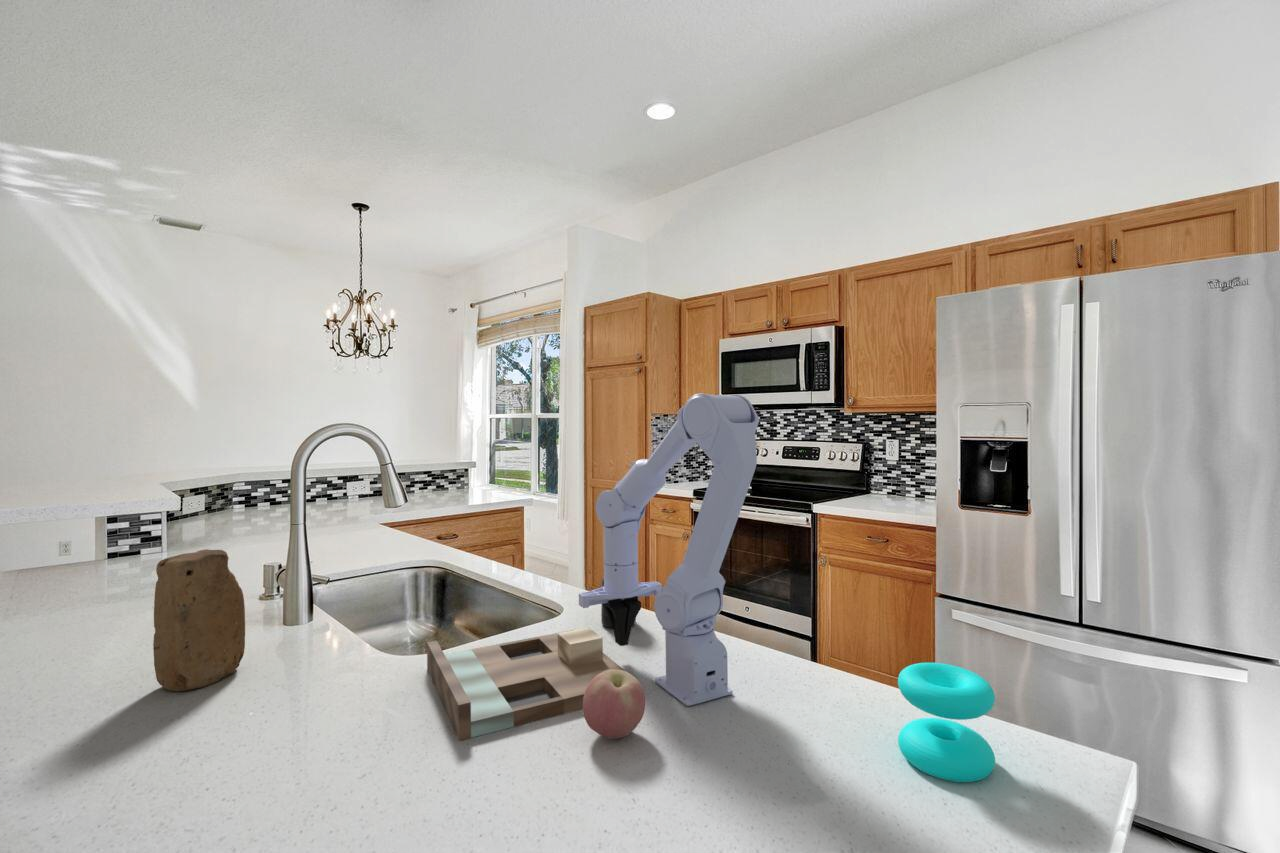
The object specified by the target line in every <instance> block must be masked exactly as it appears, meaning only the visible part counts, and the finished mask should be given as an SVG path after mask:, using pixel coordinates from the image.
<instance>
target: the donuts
mask: <svg viewBox="0 0 1280 853" xmlns="http://www.w3.org/2000/svg"><path fill="white" fill-rule="evenodd" d="M897 677H898V678H897V686H898V689H899V691H900V693H901V695H902V696H903V698H904V699H905V700H906V701H908V703H910V704H911V705H912V706H914V707H915V708H917V709H919V710H921V711H922V712H924V713H927V714H929V715H933V716H934V717H924V718H917V719H914V720H911V721H910V722H907V723H906V724H904V725H903V727H902V728H901V729H900V731H899V734H898V737H897V739H898V740H897V742H898V743H897V744H898V747H899V750H900V752H901V753H902V755H903V757H904V758H905V759H906V760H907V761H908V762H909V763H910V764H911V765H912V766H914V767H915V768H916V769H918V770H920V771H922V772H923V773H925V774H927V775H930V776H932V777H935V778H938V779H941V780H945V781H949V782H958V783H971V782H978V781H980V780H983V779H985V778H987V777H988V776H990V774H991V773H992V772H993V771H994V768H995V766H996V757H995V753H994V751H993V748H992V746H991V745H990V744H989V742H988V741H987V740H986V739H985V738H984V737H983V736H982V735H981V734H980V733H978V732H977V731H975V730H974V729H972V728H970V727H968V726H967V725H964V724H961V723H959V722H956V721H957V720H959V721H961V720H962V721H963V720H965V721H966V720H973V719H978V718H981V717H982V716H985V715H986V714H988V713H989V712H991V710H992V709H993V707H994V706H995V705H994V704H995V702H996V696H995V692H994V689H993V688H992V686H991V684H989V682H988V681H987V680H986V679H985V678H984V677H982V676H980V675H979V674H977V673H975V672H973V671H971V670H969V669H967V668H964V667H960V666H957V665H952V664H948V663H942V662H919V663H914V664H913V663H912V664H911V665H908V666H906V667H904V668H903V669H901V671H900V672H899V674H898V676H897ZM936 717H939V718H936ZM953 720H955V721H953Z"/></svg>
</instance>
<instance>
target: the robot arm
mask: <svg viewBox="0 0 1280 853" xmlns="http://www.w3.org/2000/svg"><path fill="white" fill-rule="evenodd" d="M754 408H755V407H754V406H753V404H752V403H751V402H750V400H749V399H748V398H747V397H745V396H743V395H741V394H731V395H729V394H728V395H727V394H725V395H723V394H708V393H704V392H703V393H701V392H700V393H696V394H693V395H691V396H690V397H689V399H687V401H686V402H685V405H683V406H682V407H680V408H679V410H677V414H676V415H677V417H676V418H677V419H676V421H675V423H674V424H672V426H671V427H670V429H669V430H668V432H666V434H665V435H664V438H662V440H661V442H660V443H659V444H658V445H657V447H656V448H655V449H654V451H653V452H652V453H651V455H650V456H649V458H641V459H638V460H633V461H632V462H631V464H630V465H629V467H630V469H629V470H628V471H627V472H626V474H625V475H624V476H623V477H622V478H621V479H620V480H618V481H617V482H616V483H615V487H614V488H612V489H611V490H610V489H609V490H608V489H607V490H603V491H601V492H600V493H599V495H598V497H597V498H596V499H597V500H596V502H595V513H596V518H597V519H598V522H599V523H601V525H602V526H603V527H602V528H603V532H602V533H603V578H604V587H599V588H595V589H592V590H589V591H584V592H580V593H579V592H578V606H580V607H581V608H583V609H586V608H587V609H588V608H589V607H590V606H597V605H601V604H602V605H603V607H604V609H605V611H606V613H607V615H608V617H609V619H610V622H611V625H612V628H613V629H612V631H613V635H614V640H615V641H614V642H615V643H616V644H617V645H618V646H620V647H623V646H627V645H629V642H630V637H631V632H632V629H633V627H634V625H633V623H634V621H635V618H636V619H637V616H638V614H639V613H640V611H641V609H642V602H641V601H640V600H639V598H644V597H649V596H655V598H654V602H653V610H654V614H655V616H656V619H657V621H658V622H659V624H660V625H661V629H662V630H663V631H665V674H664V675H660V676H657V677H655V678H654V682H655V683H656V684H658V685H659V686H660V687H662V688H663V689H664V690H666V691H667V692H668V693H670V694H671V695H672V696H673V697H675V699H677V700H679V702H681V703H683V704H684V705H685V706H686V707H687V706H688V707H691V706H694V705H698V704H702V703H704V702H708V701H711V700H715V699H719V698H723V697H726V696H729V695H732V694H733V689H731V688H730V687H729V686H728V684H729V683H728V680H729V679H728V668H729V667H728V651H727V648H726V646H725V645H724V643H723V642H722V641H721V640H720V639H719V638H718V637H717V635H716V633H715V627H714V626H715V625H716V623H717V620H716V619H717V616H718V615H719V614H720V613H721V611H722V609H723V606H724V588H725V584H726V579H725V578H724V576H723V575H722V573H720V569H721V567H722V564H723V561H724V558H725V556H726V553H727V550H728V547H729V544H730V541H731V539H732V536H733V533H734V530H735V528H736V525H737V522H738V519H739V517H740V514H741V511H742V507H743V505H744V501H745V500H746V497H747V494H748V491H749V489H750V488H749V487H750V486H751V482H752V480H753V477H754V474H755V472H756V471H755V470H756V467H757V465H758V464H757V461H758V460H757V458H758V457H757V444H756V443H757V441H756V432H757V428H758V426H759V423H760V418H759V415H758V413H757V412H756V410H755V409H754ZM696 444H697V446H698V447H699V448H700V449H701V450H702V452H703V453H704V454H705V455H706V457H708V458H709V459H710V462H711V463H712V465H713V468H712V473H711V475H710V479H709V481H708V484H707V487H706V491H705V493H704V497H703V499H702V502H701V506H700V509H699V511H698V514H697V516H696V517H697V518H696V520H695V524H694V527H693V528H692V529H693V530H692V532H691V535H690V539H689V542H688V545H687V547H686V551H685V554H684V557H683V560H682V562H681V564H679V566H678V567H677V568H676V569H675V570H673V571H672V572H671V574H669V575H668V577H667V579H666V582H665V584H664V586H663V585H662V583H660V582H658V581H656V580H655V581H645V582H639V539H638V538H639V532H640V530H641V522H642V520H643V519H644V516H645V513H646V505H648V503H649V502H650V501H651V500H652V499H653V498H654V497H655V496H656V495H657V493H658V492H659V491H661V490H662V488H663V487H664V486H665V484H666V481H667V478H666V473H667V472H669V470H670V469H671V468H672V467H673V466H674V465H675V464H676V463H678V461H680V459H682V458H683V456H685V455H686V453H688V452H689V450H691V449H692V448H693V447H695V445H696ZM662 586H663V587H662Z"/></svg>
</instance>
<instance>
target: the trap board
mask: <svg viewBox="0 0 1280 853" xmlns="http://www.w3.org/2000/svg"><path fill="white" fill-rule="evenodd" d="M573 630H574V629H572V630H570V631H573ZM567 631H568V630H567ZM567 631H564V632H567ZM562 632H563V631H561V632H555V633H551V634H544V635H539V636H535V637H530V638H523V639H519V640H513V641H508V642H502V643H498V644H491V645H486V646H482V647H476V648H470V649H465V650H460V651H455V652H449V653H444V652H443V650H442V648H441V646H440V644H439V642H438V640H432V641H427V642H426V659H427V660H426V663H427V664H426V666H427V672H428V675H429V677H430V679H431V681H432V684H433V685H434V688H435V690H436V693H437V695H438V697H439V699H440V701H441V704H442V706H443V707H444V710H445V713H446V715H447V717H448V720H449V723H450V724H451V726H452V728H453V730H454V732H455V735H456V737H457V740H458V741H460V742H461V741H463V740H467V739H472V738H474V737H475V738H476V737H478V736H483V735H486V734H492V733H494V732H499V731H502V730H506V729H510V728H515V727H518V726H522V725H526V724H529V723H530V724H531V723H533V722H534V723H535V722H536V721H542V720H545V719H549V718H553V717H555V716H556V717H557V716H561V715H564V714H568V713H572V712H576V711H579V710H583V697H584V693H585V691H586V688H587V686H588V685H589V683H590V682H591V681H592V679H593V678H594V677H596V676H597V675H598V674H600V673H602V672H604V671H606V670H610V669H618V670H623V671H626V670H625V669H624V668H623V667H621V665H619V664H618V663H616V662H615V661H614V660H613V659H612V658H611V657H609V656H608V655H607V654H605V653H604V652H603V660H600V661H595V662H591V663H586V664H582V665H577V666H573V667H570V666H569V665H568V664H567V663H566V662H565V661H564V660H563V659H562V658H561V657H559V656H558V633H562Z"/></svg>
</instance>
